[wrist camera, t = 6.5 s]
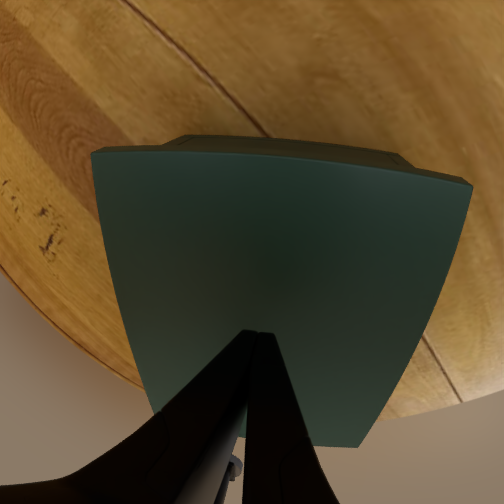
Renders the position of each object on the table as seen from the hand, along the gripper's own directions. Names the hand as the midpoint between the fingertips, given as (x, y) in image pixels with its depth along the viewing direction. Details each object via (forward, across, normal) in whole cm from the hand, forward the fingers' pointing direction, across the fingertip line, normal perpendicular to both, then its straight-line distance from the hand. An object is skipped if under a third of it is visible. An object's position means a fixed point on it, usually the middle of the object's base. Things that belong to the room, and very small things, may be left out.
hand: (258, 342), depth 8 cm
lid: (+2, 0, +2) cm, 3 cm away
